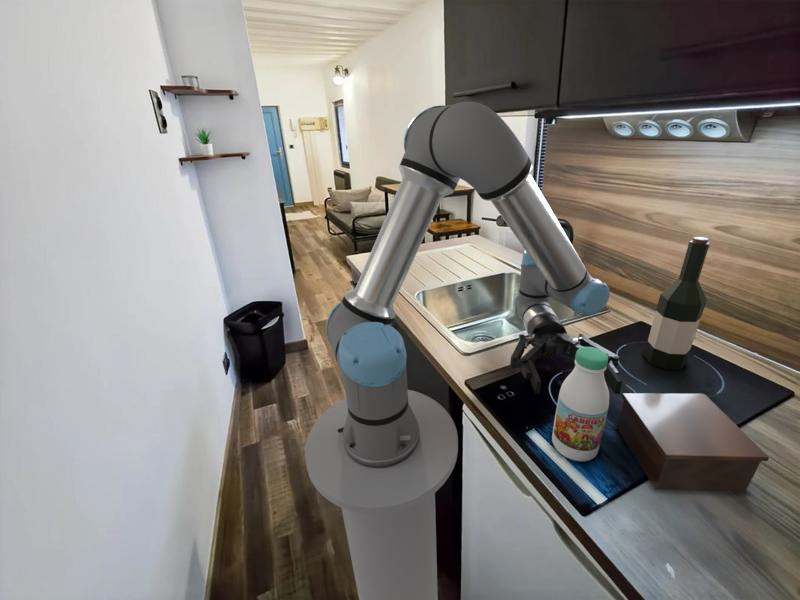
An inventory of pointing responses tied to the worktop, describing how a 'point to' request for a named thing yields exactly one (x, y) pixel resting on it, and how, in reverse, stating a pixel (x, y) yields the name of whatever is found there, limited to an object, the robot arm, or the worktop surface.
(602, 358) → the milk bottle
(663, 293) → the wine bottle
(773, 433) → the worktop surface
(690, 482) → the walnut box
